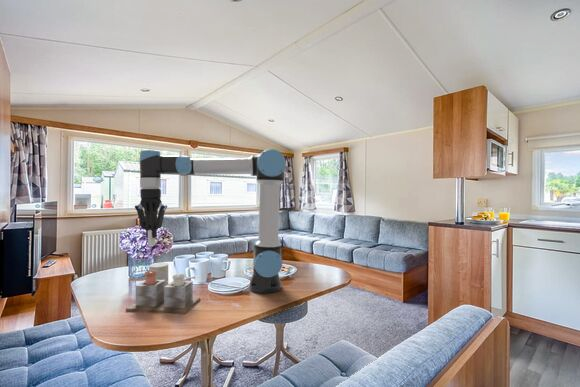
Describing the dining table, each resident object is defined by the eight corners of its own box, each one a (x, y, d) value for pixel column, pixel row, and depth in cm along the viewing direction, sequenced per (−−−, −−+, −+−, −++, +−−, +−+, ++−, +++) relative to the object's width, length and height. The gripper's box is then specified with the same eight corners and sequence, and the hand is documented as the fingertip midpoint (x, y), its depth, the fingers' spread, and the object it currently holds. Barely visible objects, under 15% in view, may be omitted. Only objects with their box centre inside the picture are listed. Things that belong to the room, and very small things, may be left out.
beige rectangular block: (161, 294, 130) (161, 267, 130) (145, 292, 132) (145, 266, 131) (172, 288, 138) (171, 263, 138) (157, 286, 140) (156, 262, 139)
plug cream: (186, 297, 119) (186, 273, 119) (181, 302, 114) (181, 277, 114) (176, 297, 119) (176, 273, 119) (170, 301, 115) (170, 276, 115)
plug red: (159, 294, 120) (159, 270, 120) (153, 298, 116) (152, 273, 115) (149, 293, 121) (148, 270, 121) (142, 297, 116) (142, 273, 116)
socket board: (200, 299, 123) (200, 279, 123) (184, 314, 109) (184, 290, 109) (147, 297, 126) (147, 277, 126) (126, 311, 112) (125, 288, 112)
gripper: (170, 188, 120) (171, 244, 121) (141, 188, 122) (142, 243, 122) (160, 188, 113) (161, 248, 113) (129, 188, 114) (130, 247, 115)
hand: (151, 245), depth 118 cm, fingers closed
